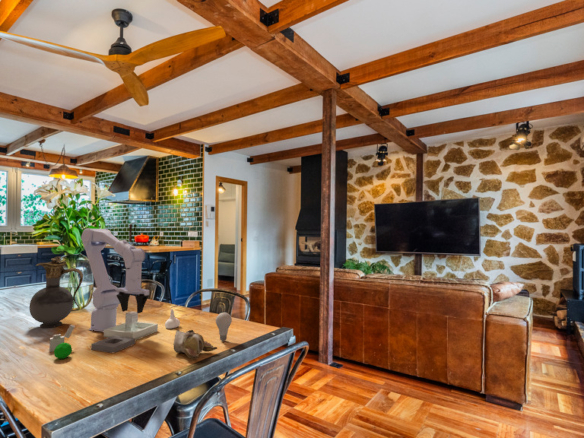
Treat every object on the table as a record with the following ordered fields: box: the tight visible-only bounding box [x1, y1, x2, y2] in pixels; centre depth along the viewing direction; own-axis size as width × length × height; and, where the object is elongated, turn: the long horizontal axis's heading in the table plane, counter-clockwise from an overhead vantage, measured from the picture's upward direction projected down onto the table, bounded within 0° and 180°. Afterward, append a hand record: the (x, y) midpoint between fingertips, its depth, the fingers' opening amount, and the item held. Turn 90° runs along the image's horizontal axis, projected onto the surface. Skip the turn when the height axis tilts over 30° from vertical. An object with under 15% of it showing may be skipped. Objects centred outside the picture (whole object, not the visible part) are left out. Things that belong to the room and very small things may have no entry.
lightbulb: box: [215, 311, 233, 342], centre depth 130 cm, size 6×6×11 cm
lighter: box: [48, 324, 76, 353], centre depth 119 cm, size 7×2×8 cm, turn 129°
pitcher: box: [28, 256, 84, 329], centre depth 148 cm, size 11×19×30 cm, turn 131°
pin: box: [124, 310, 139, 332], centre depth 137 cm, size 3×3×8 cm
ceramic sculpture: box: [173, 329, 218, 359], centre depth 116 cm, size 11×9×15 cm
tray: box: [103, 321, 159, 341], centre depth 137 cm, size 14×14×3 cm
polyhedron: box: [53, 342, 73, 360], centre depth 111 cm, size 5×5×5 cm
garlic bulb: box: [164, 308, 181, 330], centre depth 148 cm, size 6×6×8 cm
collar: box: [90, 336, 136, 354], centre depth 122 cm, size 10×10×2 cm
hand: (132, 311), depth 137 cm, fingers open, 7 cm apart
